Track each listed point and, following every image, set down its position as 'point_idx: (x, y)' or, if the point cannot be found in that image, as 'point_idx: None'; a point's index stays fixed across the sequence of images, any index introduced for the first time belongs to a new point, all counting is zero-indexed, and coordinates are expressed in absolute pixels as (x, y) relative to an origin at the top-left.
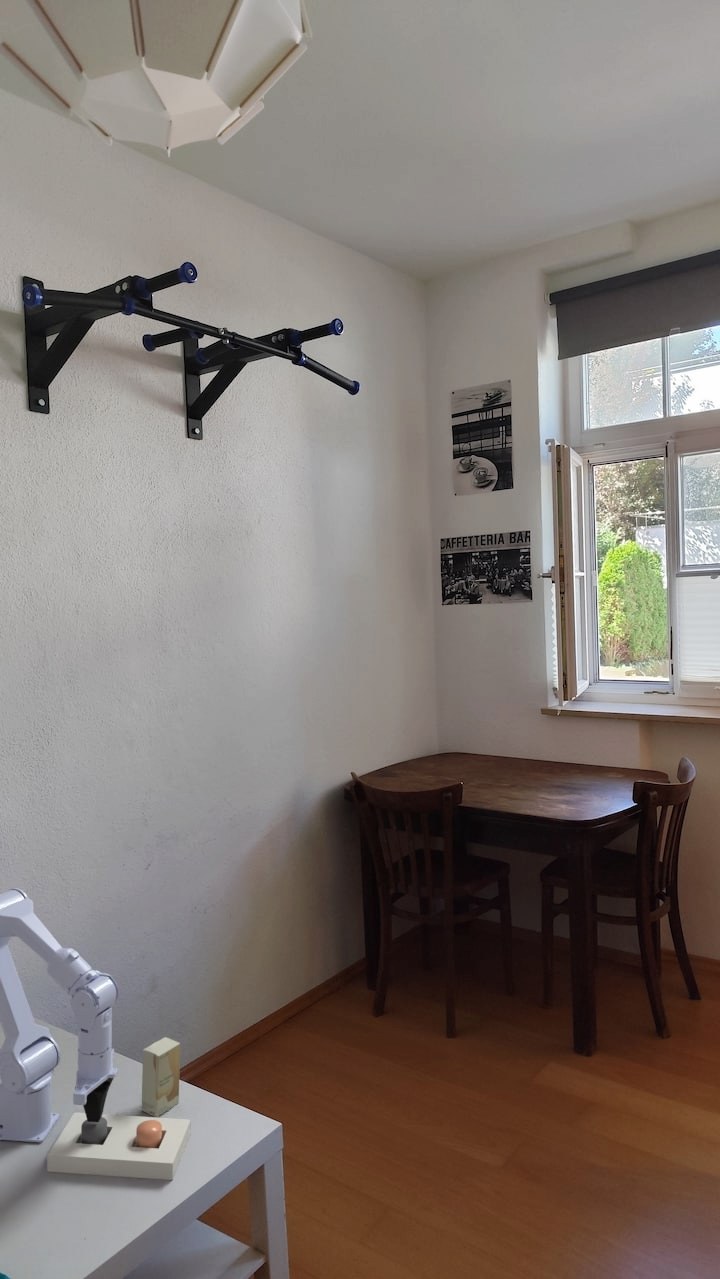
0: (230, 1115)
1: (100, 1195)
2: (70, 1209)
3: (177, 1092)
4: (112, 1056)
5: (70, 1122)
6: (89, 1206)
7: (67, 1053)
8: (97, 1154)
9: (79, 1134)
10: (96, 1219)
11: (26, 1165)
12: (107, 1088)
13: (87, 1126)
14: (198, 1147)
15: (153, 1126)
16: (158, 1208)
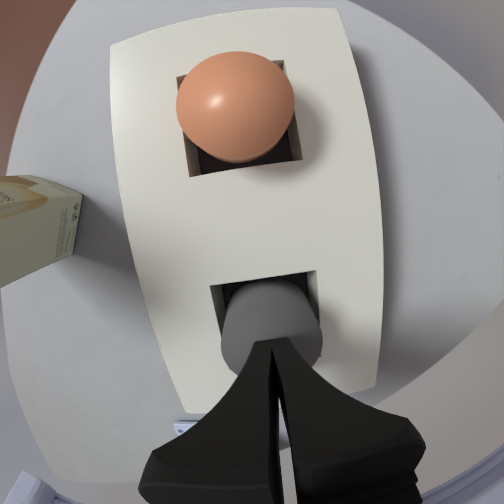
0: (59, 39)
1: (421, 194)
2: (458, 243)
3: (11, 176)
4: (30, 498)
5: None
6: (449, 205)
7: (50, 434)
8: (366, 262)
9: None
10: (471, 173)
11: None
12: (364, 449)
13: None
14: None
15: (221, 85)
16: (412, 49)
